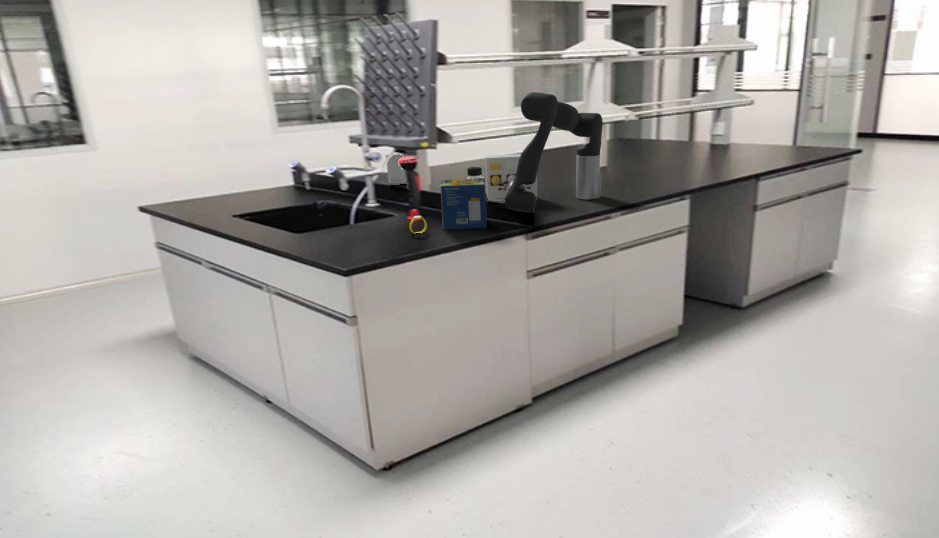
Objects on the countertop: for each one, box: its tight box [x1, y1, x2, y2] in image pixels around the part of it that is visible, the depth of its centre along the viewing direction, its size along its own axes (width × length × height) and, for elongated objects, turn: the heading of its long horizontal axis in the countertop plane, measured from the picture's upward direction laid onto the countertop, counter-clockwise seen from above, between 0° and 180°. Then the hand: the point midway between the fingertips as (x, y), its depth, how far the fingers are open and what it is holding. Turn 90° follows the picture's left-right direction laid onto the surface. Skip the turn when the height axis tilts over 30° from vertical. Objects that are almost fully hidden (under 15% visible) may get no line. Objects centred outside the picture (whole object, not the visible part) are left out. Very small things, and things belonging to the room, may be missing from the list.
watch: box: [408, 215, 428, 235], centre depth 209 cm, size 6×3×6 cm, turn 116°
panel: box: [485, 153, 538, 201], centre depth 247 cm, size 20×6×18 cm, turn 91°
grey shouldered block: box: [385, 152, 407, 184], centre depth 287 cm, size 8×6×15 cm
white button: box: [507, 174, 515, 181], centre depth 245 cm, size 4×5×4 cm
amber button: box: [491, 175, 500, 185], centre depth 245 cm, size 4×5×4 cm
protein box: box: [440, 177, 487, 230], centre depth 215 cm, size 10×15×16 cm
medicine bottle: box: [466, 165, 486, 183], centre depth 260 cm, size 7×7×12 cm
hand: (512, 181), depth 241 cm, fingers closed
